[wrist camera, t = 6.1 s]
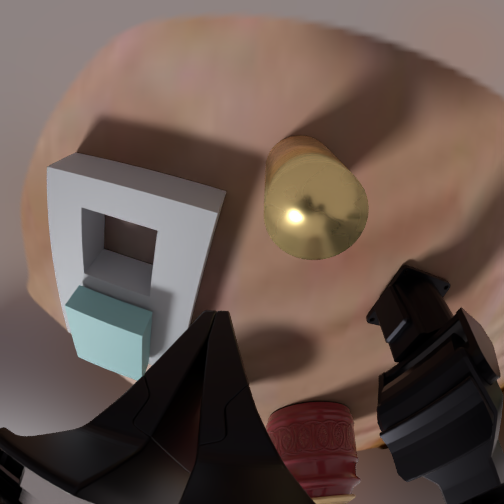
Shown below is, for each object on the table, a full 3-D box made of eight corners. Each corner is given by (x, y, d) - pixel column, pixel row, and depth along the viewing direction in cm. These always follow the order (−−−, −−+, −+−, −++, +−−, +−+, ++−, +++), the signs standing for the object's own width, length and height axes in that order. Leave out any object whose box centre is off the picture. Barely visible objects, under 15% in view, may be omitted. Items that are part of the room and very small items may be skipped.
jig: (226, 191, 18) (217, 213, 15) (185, 345, 27) (177, 372, 24) (75, 152, 17) (47, 166, 14) (82, 308, 26) (68, 331, 23)
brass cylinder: (344, 150, 16) (385, 187, 10) (318, 209, 18) (340, 270, 13) (278, 125, 16) (286, 146, 10) (256, 188, 18) (249, 243, 12)
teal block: (152, 311, 19) (142, 336, 17) (149, 361, 23) (141, 382, 21) (79, 285, 19) (64, 305, 17) (88, 337, 22) (78, 356, 20)
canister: (349, 425, 38) (357, 517, 23) (273, 434, 40) (270, 526, 25) (354, 392, 31) (370, 516, 16) (257, 404, 34) (250, 526, 19)
